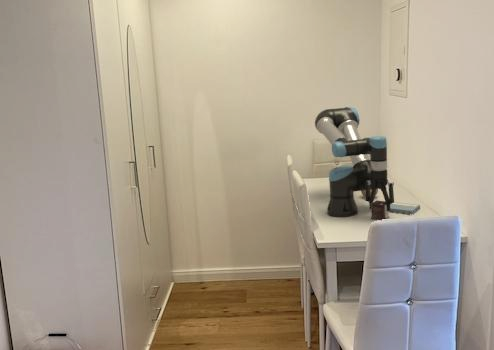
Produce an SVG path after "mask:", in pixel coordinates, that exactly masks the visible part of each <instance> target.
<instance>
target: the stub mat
mask: <svg viewBox="0 0 494 350" xmlns="http://www.w3.org/2000/svg"><path fill="white" fill-rule="evenodd" d="M389 218H390V216H389V217H388V219H389ZM384 219H387V218H384ZM388 219H387V220H388ZM370 220H376V221H382V219H376V218H372V217H370Z"/></svg>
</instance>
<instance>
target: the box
mask: <svg viewBox="0 0 494 350" xmlns="http://www.w3.org/2000/svg"><path fill="white" fill-rule="evenodd" d="M385 204H386V202H385V200H374V201H373V203H371V209H370V211H371V212H372V216H371V218H376V219H384V218H385ZM371 212H370V213H371Z"/></svg>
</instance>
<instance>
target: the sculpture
mask: <svg viewBox="0 0 494 350" xmlns="http://www.w3.org/2000/svg"><path fill="white" fill-rule="evenodd" d="M360 192H361V194H362V196H363V197H364V198H366V190H363V191H360ZM371 193H372V190H370V196H371ZM378 193H379V189H377V190H376V194H375V197H376V196H377V195H378Z"/></svg>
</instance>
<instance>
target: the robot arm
mask: <svg viewBox="0 0 494 350" xmlns="http://www.w3.org/2000/svg"><path fill="white" fill-rule="evenodd" d="M359 125H360V115H359V112H358V110H357V109H356V108H354V107H351V106H350V107H348V106H344V107H339V108H338V107H337V108H327V109H324V110H321V111H320V112H319V113H318V114H317V116H316V117H315V120H314V126H315V128H316V130H317V131H318V133H320V134H322V135H323V136H324V137H325V139H326V140H327V141H328V142H329V144H331V153H332V155H333V157H334V158H346V157H349V158H350V160H351V163H352V166H351V165H340V166H336V167H334V168H332V169H330V171H329V173H328V175H329V176H328V181H329V182H328V183H329V201H328V205H327V208H326V211H327V215H329V216H331V215H332V217H336V218H337V217H339V218H344V217H353V216H355V215H357V214H358V213H359V211H358V210H359V209H358V205H357V203H356V200H355V198H354V197H355V196H354V192H361V191H363V190H366V197H364V198H365V201H366V202H368V203H369V204H368V205H369V210H371V203H373V202H375V200H374V199H375V197H376V196H375V194H376V190H377V189H378V190H380V191H381V192H382V196H383V198H384V201H385V202H386V204H385V218H388V217H389V218H390V215H389V213H390V212H389V211H390V204H392V203H394V202H395V193H394V185H395V183H394V182H391V181H389V179H388V152H387V151H388V143H387V137H386V136H382V135H374V136H371V137H363V138H361V137H360V134H359V131H358V128H359ZM368 155H370V156H368ZM369 157H370V158H369ZM387 188H388V190H387ZM370 190H372V193H371V196H370ZM370 213H371V215H370V216H371V217H372V212H370ZM389 218H388V219H389Z"/></svg>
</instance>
